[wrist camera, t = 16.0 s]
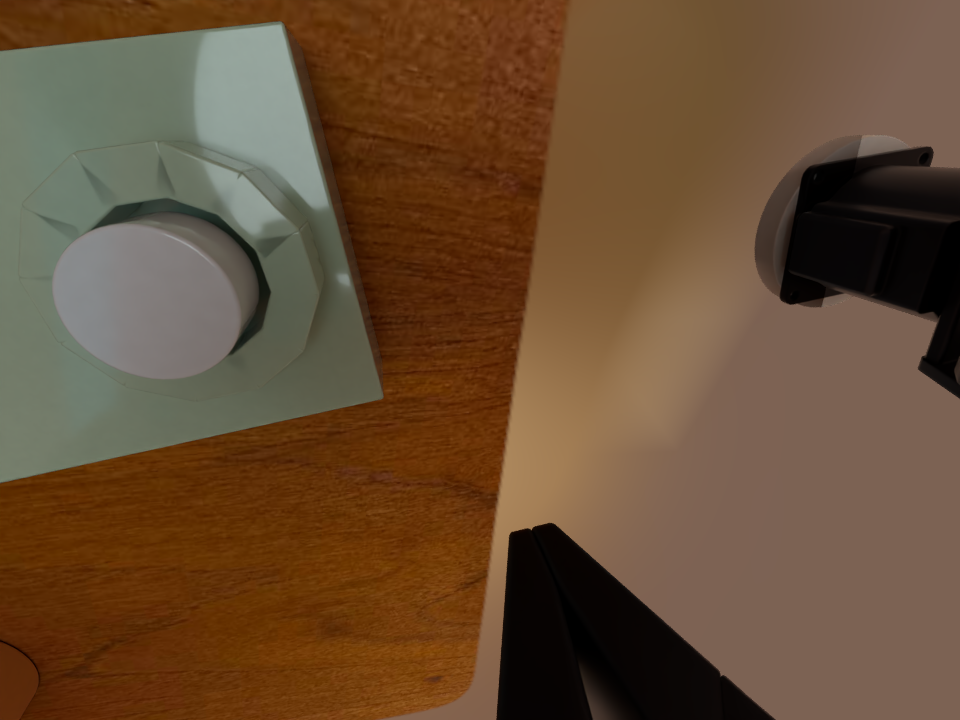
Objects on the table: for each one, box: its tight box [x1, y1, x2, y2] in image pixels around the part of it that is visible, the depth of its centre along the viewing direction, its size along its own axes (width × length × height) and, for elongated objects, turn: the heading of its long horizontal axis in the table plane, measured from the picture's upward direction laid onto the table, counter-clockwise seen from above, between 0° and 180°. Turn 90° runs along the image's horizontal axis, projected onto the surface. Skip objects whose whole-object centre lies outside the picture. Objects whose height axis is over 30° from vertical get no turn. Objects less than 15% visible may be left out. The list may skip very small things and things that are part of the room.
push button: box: [52, 211, 259, 380], centre depth 11 cm, size 4×4×2 cm
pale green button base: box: [0, 21, 384, 483], centre depth 13 cm, size 14×11×5 cm
